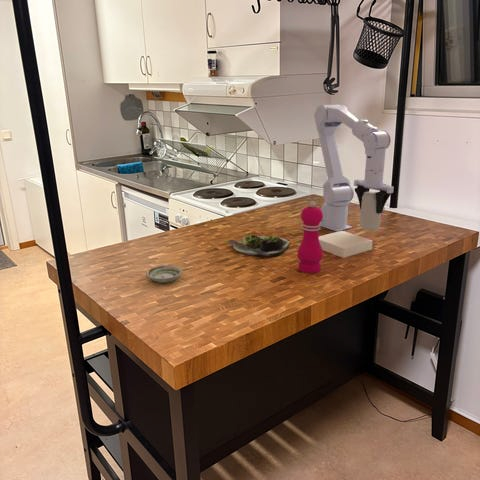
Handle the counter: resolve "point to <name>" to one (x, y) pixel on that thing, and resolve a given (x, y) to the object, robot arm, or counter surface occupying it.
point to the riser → (344, 244)
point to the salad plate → (261, 245)
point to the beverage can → (369, 212)
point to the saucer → (164, 273)
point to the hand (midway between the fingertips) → (370, 210)
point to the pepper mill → (310, 240)
